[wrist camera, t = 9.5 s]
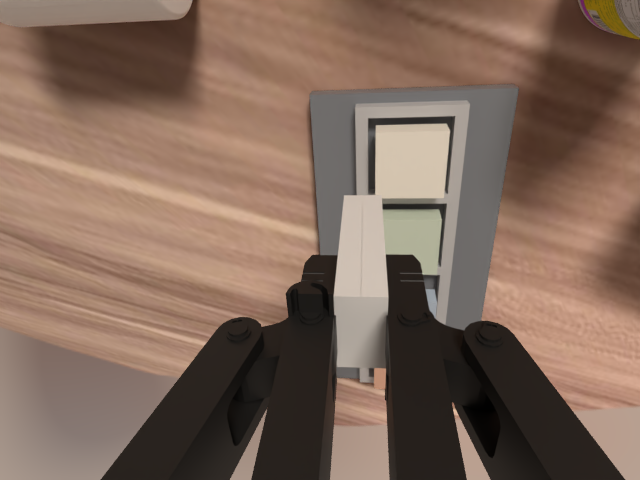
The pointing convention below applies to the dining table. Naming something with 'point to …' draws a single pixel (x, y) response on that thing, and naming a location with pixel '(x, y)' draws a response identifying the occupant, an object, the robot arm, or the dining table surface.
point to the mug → (89, 11)
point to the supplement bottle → (614, 16)
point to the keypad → (455, 208)
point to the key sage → (414, 235)
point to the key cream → (411, 160)
